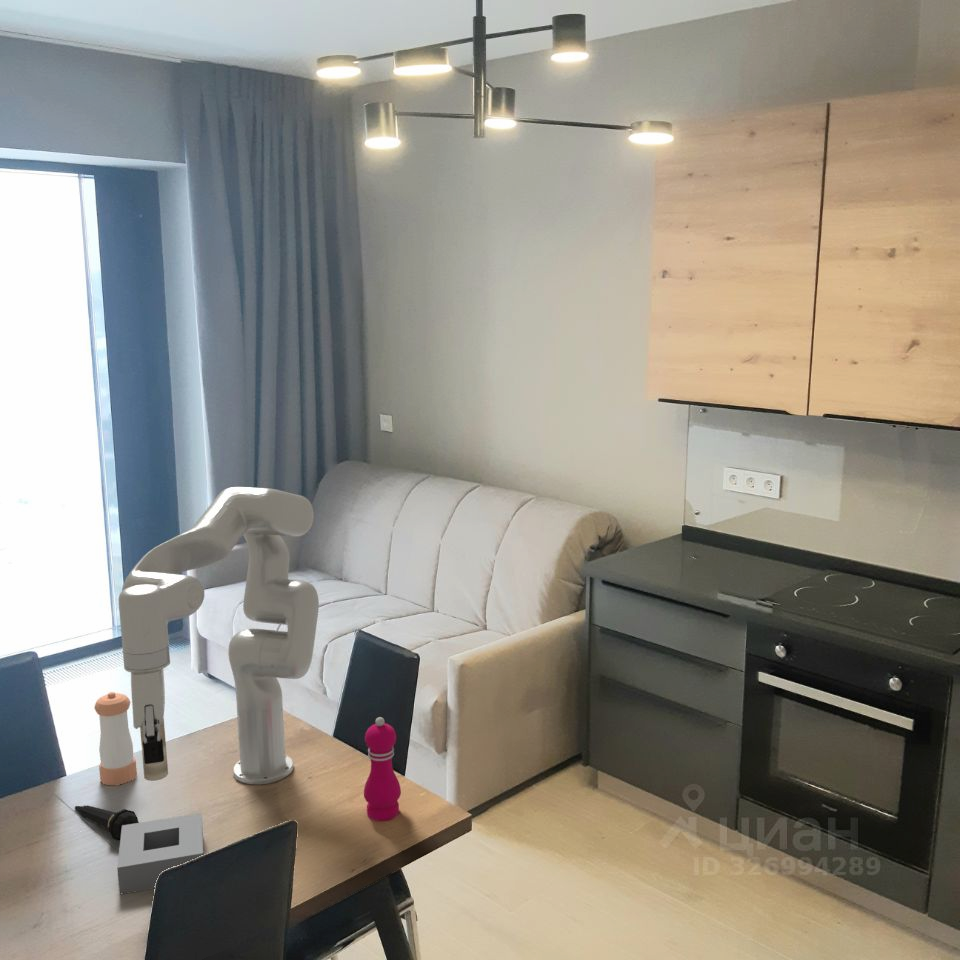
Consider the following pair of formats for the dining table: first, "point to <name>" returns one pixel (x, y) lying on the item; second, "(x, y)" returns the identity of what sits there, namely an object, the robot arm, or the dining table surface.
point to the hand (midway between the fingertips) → (154, 755)
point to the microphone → (108, 818)
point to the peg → (160, 768)
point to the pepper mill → (381, 773)
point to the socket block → (156, 849)
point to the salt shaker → (115, 740)
